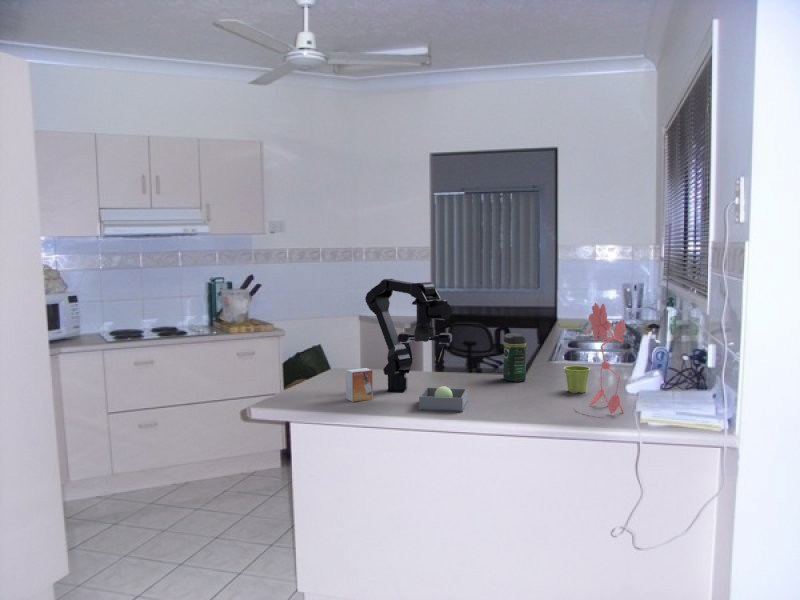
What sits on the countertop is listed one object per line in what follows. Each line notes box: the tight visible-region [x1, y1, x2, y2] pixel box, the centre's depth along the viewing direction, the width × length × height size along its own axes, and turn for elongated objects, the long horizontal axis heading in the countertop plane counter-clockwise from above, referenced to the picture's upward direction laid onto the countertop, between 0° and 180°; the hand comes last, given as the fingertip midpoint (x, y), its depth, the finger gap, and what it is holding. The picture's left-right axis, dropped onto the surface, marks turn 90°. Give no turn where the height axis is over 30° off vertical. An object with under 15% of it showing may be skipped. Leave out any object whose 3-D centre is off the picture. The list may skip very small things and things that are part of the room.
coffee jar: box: [502, 332, 527, 383], centre depth 265 cm, size 10×8×19 cm
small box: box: [345, 367, 374, 403], centre depth 235 cm, size 8×6×10 cm
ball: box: [435, 385, 452, 398], centre depth 225 cm, size 6×6×6 cm
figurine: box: [573, 302, 627, 419], centre depth 216 cm, size 15×26×35 cm, turn 11°
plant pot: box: [563, 365, 591, 394], centre depth 244 cm, size 9×9×9 cm
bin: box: [418, 386, 468, 413], centre depth 225 cm, size 14×14×4 cm
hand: (425, 361), depth 238 cm, fingers open, 9 cm apart
